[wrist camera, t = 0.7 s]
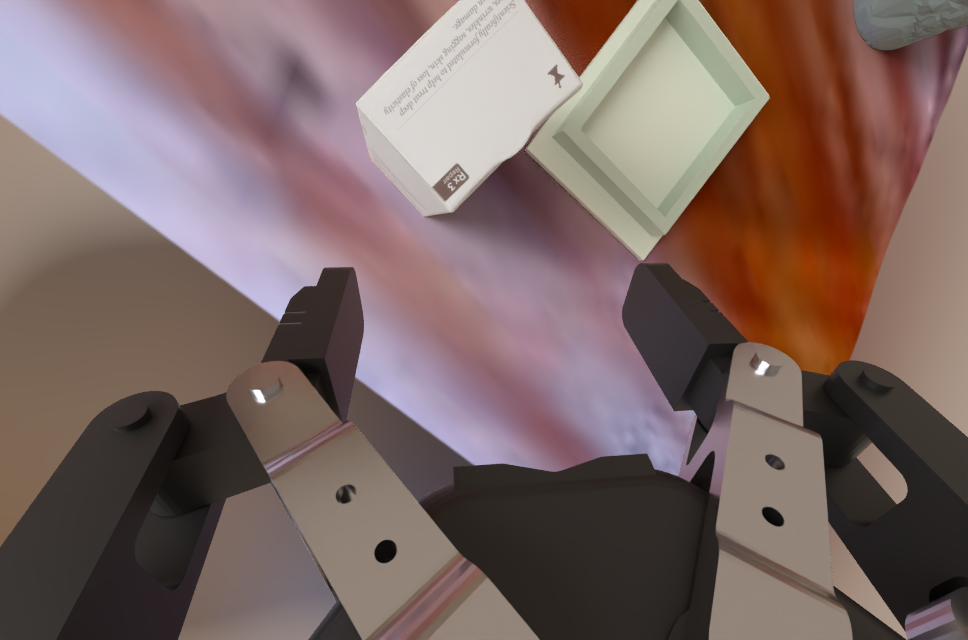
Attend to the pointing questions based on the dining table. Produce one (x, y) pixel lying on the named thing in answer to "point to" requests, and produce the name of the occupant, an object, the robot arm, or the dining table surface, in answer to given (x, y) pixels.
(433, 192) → the skincare box
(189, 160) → the dining table surface
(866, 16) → the grey plant pot
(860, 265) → the dining table surface
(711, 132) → the tray
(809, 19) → the dining table surface
